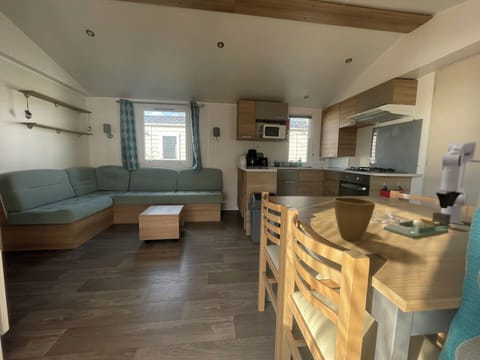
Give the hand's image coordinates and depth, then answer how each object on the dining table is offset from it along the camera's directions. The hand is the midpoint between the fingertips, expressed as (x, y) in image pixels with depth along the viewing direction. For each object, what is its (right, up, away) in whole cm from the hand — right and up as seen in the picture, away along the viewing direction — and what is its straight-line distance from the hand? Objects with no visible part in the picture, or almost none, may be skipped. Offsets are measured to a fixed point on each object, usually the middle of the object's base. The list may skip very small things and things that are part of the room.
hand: (446, 207), depth 99 cm
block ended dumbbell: (-5, -9, +1) cm, 10 cm away
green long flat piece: (-14, -10, -2) cm, 18 cm away
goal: (-28, -11, -7) cm, 31 cm away
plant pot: (-55, -11, -14) cm, 58 cm away
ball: (-17, -7, -4) cm, 19 cm away
